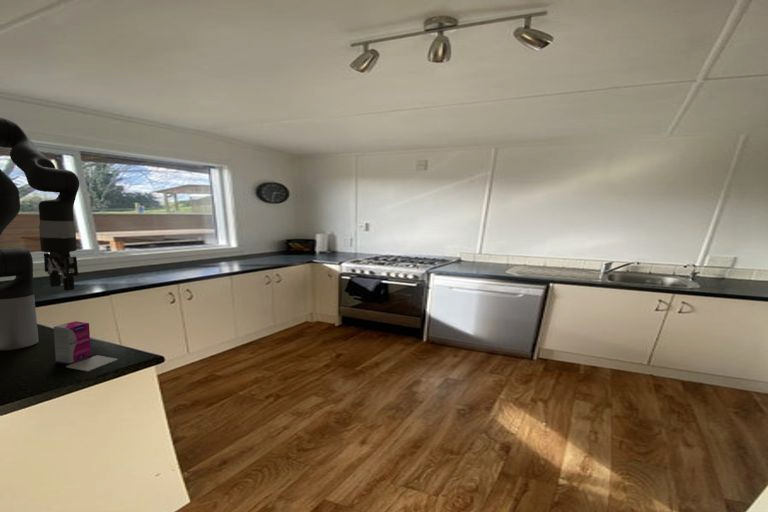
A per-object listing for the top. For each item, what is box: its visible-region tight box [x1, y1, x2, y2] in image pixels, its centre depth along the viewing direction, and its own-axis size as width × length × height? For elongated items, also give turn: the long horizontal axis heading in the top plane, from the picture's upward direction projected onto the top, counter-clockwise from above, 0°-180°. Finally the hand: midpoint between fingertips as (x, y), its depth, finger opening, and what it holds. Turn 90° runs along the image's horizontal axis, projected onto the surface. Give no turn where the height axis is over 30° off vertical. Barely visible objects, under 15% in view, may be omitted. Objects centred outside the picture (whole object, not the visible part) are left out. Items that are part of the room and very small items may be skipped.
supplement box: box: [53, 320, 92, 366], centre depth 95 cm, size 6×6×12 cm
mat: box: [65, 355, 119, 373], centre depth 93 cm, size 9×8×1 cm
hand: (62, 288), depth 94 cm, fingers open, 8 cm apart
